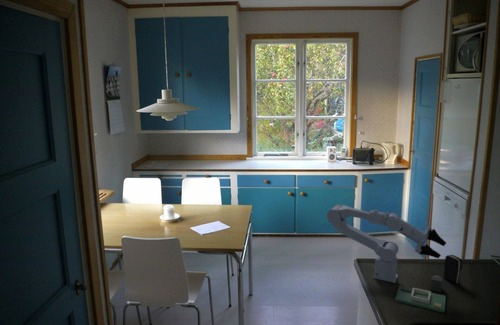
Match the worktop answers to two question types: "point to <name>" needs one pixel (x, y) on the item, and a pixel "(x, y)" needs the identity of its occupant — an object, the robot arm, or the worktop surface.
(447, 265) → the battery charger
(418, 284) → the worktop surface
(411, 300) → the board
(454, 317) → the worktop surface
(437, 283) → the plug
